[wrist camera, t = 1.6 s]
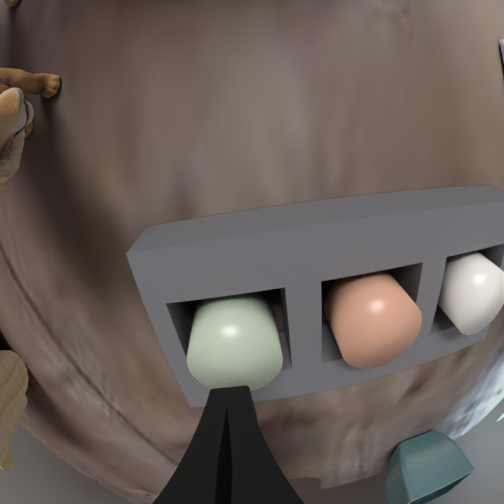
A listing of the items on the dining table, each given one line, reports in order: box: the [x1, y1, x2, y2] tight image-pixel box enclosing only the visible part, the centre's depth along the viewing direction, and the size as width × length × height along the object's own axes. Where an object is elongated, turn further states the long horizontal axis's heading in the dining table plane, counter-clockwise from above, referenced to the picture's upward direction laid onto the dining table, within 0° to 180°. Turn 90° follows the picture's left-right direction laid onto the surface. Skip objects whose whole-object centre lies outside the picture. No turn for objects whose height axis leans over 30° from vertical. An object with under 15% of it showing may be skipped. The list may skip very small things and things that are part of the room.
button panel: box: [126, 185, 504, 407], centre depth 14 cm, size 20×10×3 cm, turn 98°
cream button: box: [437, 250, 504, 335], centre depth 13 cm, size 4×4×3 cm
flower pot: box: [386, 430, 475, 504], centre depth 23 cm, size 9×9×9 cm
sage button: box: [187, 292, 283, 391], centre depth 13 cm, size 4×4×3 cm
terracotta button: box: [324, 270, 422, 369], centre depth 13 cm, size 4×4×3 cm
